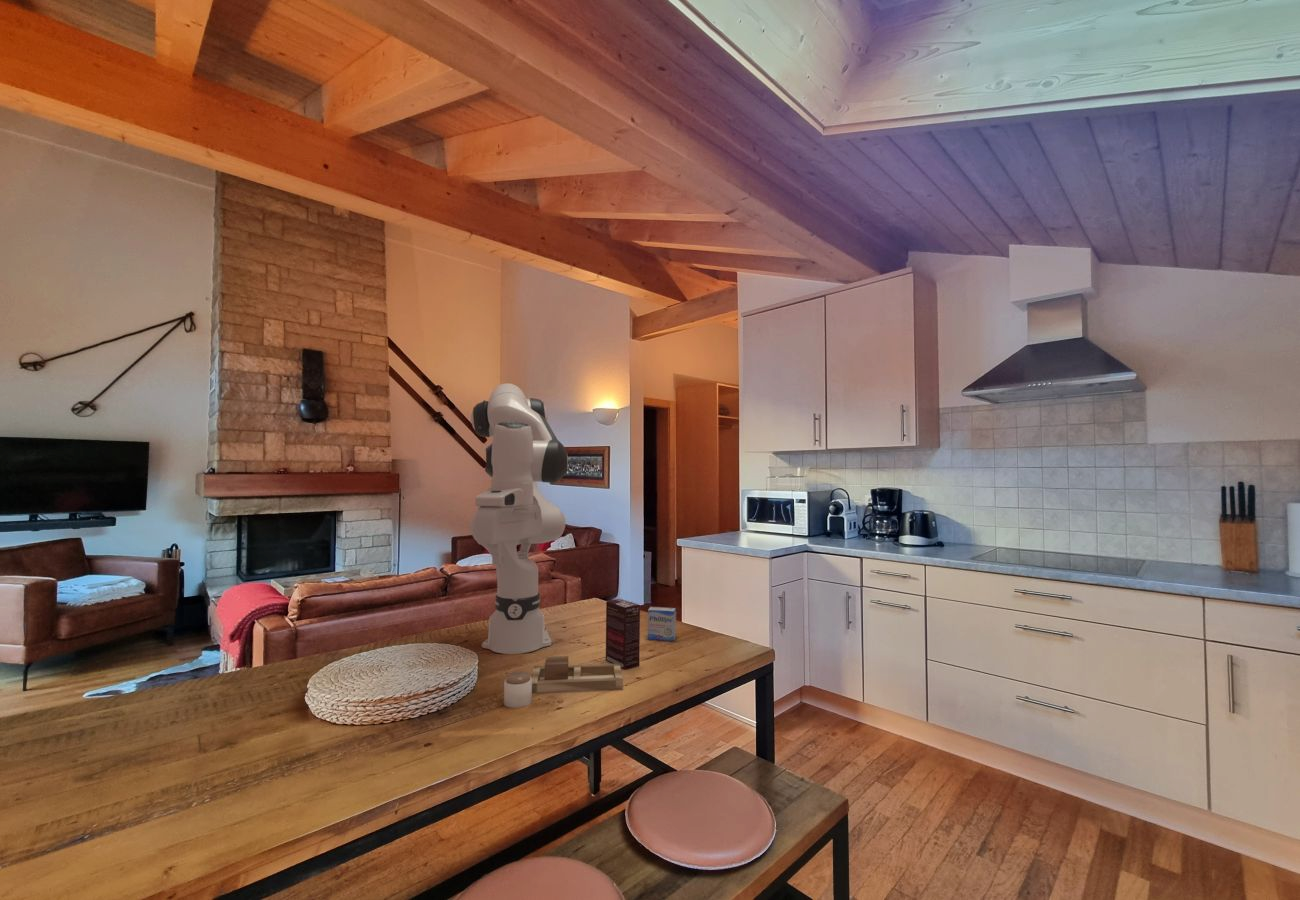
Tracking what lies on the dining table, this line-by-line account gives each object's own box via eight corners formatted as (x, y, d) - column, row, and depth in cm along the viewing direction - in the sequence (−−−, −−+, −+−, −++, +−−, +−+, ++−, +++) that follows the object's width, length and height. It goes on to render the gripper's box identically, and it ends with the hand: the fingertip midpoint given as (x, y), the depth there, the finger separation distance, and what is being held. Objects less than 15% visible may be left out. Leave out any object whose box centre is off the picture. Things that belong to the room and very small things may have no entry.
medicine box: (647, 640, 152) (647, 609, 153) (649, 635, 157) (650, 605, 157) (674, 641, 151) (674, 611, 151) (676, 637, 155) (676, 607, 156)
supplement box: (640, 669, 130) (641, 604, 130) (624, 674, 127) (625, 607, 127) (619, 659, 136) (620, 597, 137) (604, 663, 133) (605, 600, 134)
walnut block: (546, 678, 121) (546, 656, 121) (568, 677, 122) (568, 655, 122) (544, 687, 116) (544, 664, 116) (567, 686, 117) (567, 663, 117)
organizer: (534, 679, 123) (534, 666, 123) (619, 676, 125) (619, 663, 126) (529, 697, 113) (529, 683, 113) (622, 693, 115) (622, 680, 116)
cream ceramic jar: (505, 701, 111) (506, 671, 112) (532, 700, 112) (533, 670, 112) (501, 713, 106) (502, 681, 106) (530, 712, 106) (530, 680, 107)
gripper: (525, 495, 124) (524, 555, 123) (469, 497, 104) (468, 568, 103) (549, 495, 122) (548, 556, 121) (497, 498, 102) (495, 570, 101)
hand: (511, 562), depth 112 cm, fingers open, 8 cm apart
